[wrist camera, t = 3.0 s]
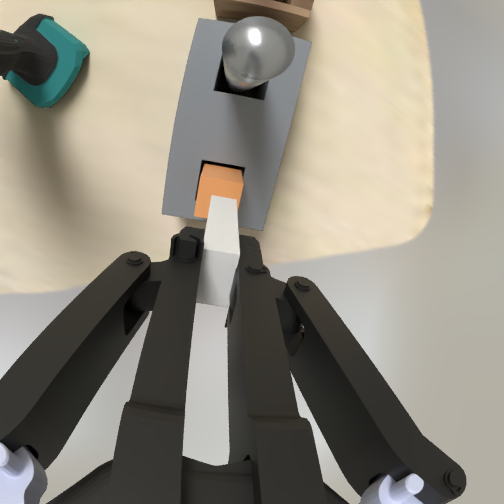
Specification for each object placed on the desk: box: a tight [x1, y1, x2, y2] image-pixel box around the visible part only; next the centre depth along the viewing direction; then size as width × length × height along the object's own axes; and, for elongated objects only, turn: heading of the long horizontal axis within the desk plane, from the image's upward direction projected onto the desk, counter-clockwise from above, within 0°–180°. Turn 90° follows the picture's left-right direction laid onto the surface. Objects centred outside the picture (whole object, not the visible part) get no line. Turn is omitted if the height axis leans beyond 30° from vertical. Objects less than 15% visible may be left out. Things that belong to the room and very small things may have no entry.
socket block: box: [162, 18, 312, 231], centre depth 24 cm, size 9×17×7 cm, turn 167°
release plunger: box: [194, 162, 244, 218], centre depth 24 cm, size 3×3×8 cm
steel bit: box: [222, 16, 295, 92], centre depth 18 cm, size 3×3×18 cm
